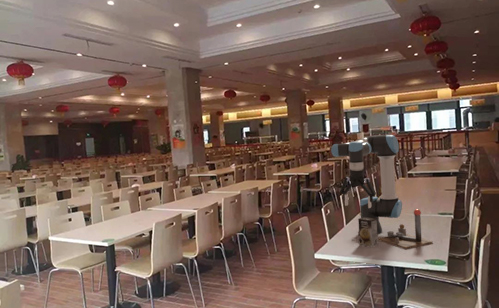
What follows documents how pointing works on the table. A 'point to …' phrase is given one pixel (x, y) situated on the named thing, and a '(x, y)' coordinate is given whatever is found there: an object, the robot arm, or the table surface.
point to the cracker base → (404, 240)
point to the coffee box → (368, 232)
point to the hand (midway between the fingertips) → (358, 206)
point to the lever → (417, 229)
